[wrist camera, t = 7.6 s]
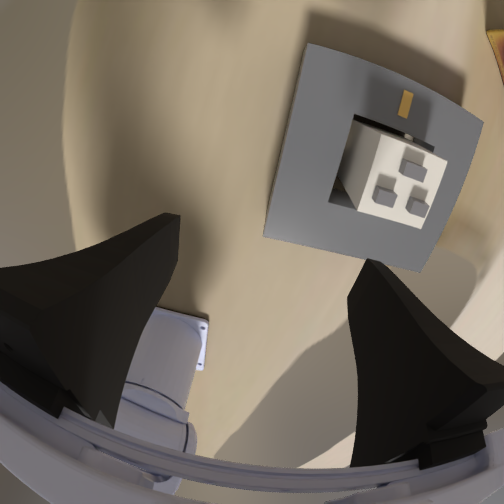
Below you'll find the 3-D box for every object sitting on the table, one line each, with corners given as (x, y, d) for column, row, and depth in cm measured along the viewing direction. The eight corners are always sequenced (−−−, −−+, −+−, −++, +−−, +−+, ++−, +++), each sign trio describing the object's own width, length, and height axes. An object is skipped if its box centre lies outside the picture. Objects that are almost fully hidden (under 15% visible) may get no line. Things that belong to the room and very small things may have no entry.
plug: (387, 188, 18) (425, 234, 12) (336, 174, 18) (359, 216, 12) (404, 137, 16) (453, 165, 10) (351, 118, 16) (385, 136, 10)
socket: (407, 250, 20) (420, 273, 18) (265, 215, 20) (262, 237, 18) (460, 114, 14) (484, 122, 11) (303, 50, 13) (308, 42, 11)
